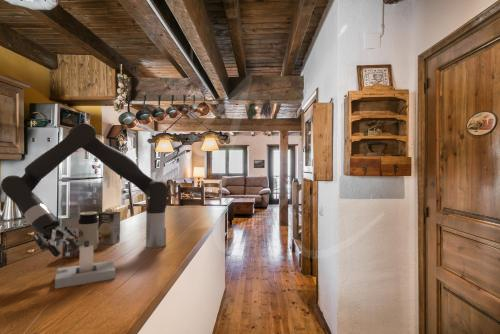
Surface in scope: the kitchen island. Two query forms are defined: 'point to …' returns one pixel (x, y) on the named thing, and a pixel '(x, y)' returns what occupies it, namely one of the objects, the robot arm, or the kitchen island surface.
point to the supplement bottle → (69, 249)
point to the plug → (86, 257)
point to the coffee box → (109, 227)
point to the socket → (84, 274)
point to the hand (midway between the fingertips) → (68, 251)
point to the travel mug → (88, 229)
